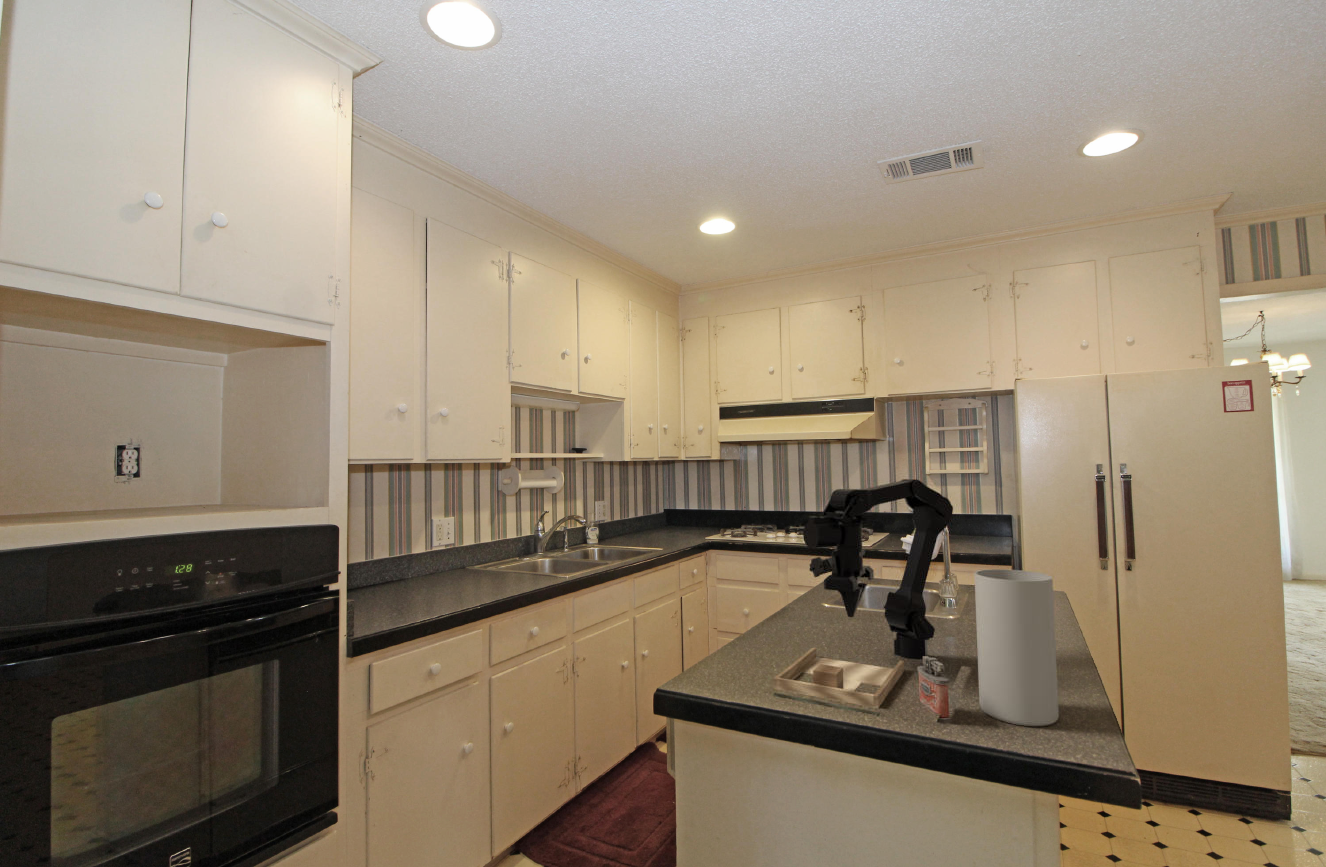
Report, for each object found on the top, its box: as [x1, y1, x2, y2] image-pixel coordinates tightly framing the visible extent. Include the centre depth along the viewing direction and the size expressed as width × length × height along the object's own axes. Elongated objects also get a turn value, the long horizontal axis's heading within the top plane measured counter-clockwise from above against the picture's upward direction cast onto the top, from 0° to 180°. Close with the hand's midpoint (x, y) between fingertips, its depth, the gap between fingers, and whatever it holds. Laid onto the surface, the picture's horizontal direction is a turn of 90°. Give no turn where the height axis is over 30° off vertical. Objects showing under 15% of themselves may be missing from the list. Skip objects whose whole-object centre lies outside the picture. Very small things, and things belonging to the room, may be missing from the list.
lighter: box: [917, 655, 952, 725], centre depth 113 cm, size 8×3×10 cm, turn 5°
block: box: [812, 664, 844, 689], centre depth 121 cm, size 4×4×4 cm
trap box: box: [773, 647, 905, 717], centre depth 128 cm, size 20×24×4 cm
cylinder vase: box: [974, 568, 1060, 727], centre depth 114 cm, size 12×12×25 cm
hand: (850, 616), depth 137 cm, fingers closed
